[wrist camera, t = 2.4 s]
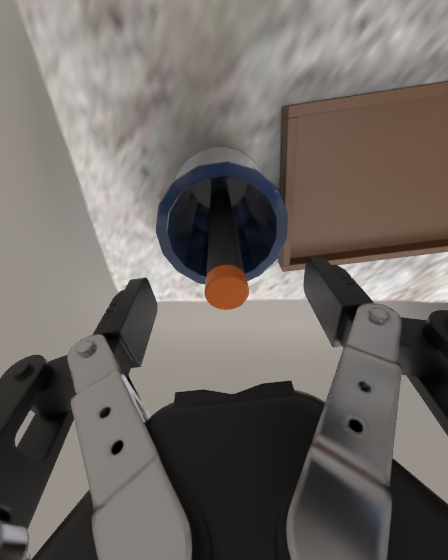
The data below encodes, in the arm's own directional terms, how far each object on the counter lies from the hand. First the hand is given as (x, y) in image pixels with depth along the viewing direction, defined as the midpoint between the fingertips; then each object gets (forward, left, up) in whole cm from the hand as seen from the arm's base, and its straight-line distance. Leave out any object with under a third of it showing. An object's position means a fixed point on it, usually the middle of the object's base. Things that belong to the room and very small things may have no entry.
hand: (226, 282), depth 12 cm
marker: (0, 0, -14) cm, 14 cm away
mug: (+2, 0, -15) cm, 15 cm away
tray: (+1, +17, -15) cm, 22 cm away
